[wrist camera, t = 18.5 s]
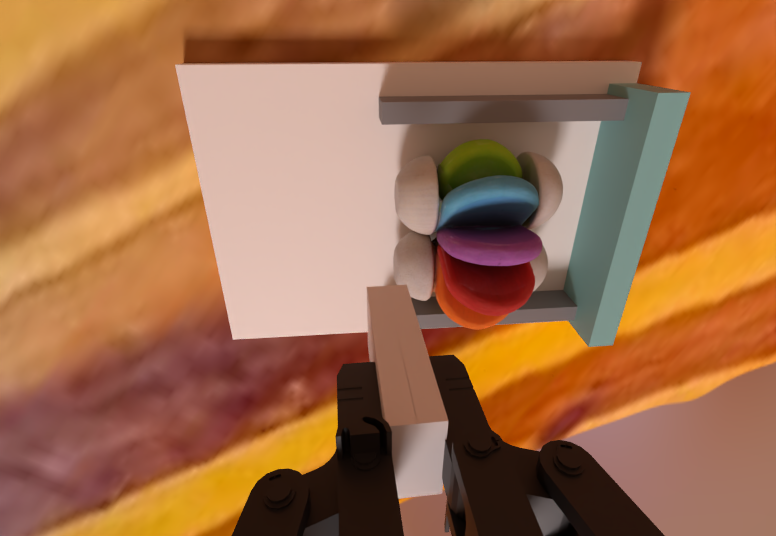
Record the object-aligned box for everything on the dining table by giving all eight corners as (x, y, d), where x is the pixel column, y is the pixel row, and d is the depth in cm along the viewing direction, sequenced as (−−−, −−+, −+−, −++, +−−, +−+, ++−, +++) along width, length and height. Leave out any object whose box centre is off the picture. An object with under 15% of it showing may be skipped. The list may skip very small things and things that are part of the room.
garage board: (237, 328, 29) (217, 383, 24) (183, 63, 21) (140, 71, 17) (569, 310, 31) (608, 358, 26) (628, 60, 23) (698, 67, 19)
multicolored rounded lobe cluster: (389, 289, 27) (404, 368, 21) (392, 130, 23) (412, 169, 16) (520, 285, 28) (573, 359, 22) (549, 130, 23) (627, 166, 17)
